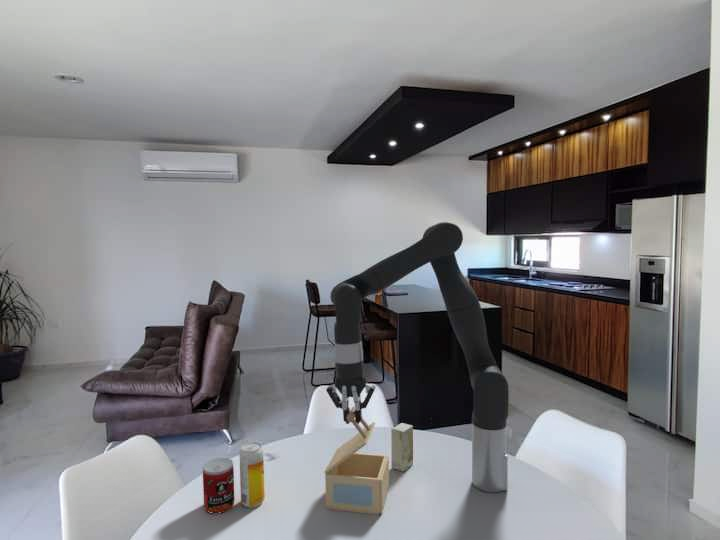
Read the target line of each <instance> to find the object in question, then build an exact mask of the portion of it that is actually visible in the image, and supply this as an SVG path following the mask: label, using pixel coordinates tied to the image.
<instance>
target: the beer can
mask: <svg viewBox="0 0 720 540" xmlns="http://www.w3.org/2000/svg"><path fill="white" fill-rule="evenodd" d="M264 461H265V460H264V448H263V446H262V444H261V443H259V442H247V443H245V444H242V446H241V447H240V450H239V478H240V479H239V480H240V484H239V485H240V503H241V504H242V505H243V507H244V508H248V507H249V509H252V508H253V509H254V508H256V507H259V506H261V504H262V503H263V501H264V500H265V469H264V468H265V466H264Z"/></svg>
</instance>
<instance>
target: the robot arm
mask: <svg viewBox="0 0 720 540" xmlns="http://www.w3.org/2000/svg"><path fill="white" fill-rule="evenodd" d="M463 240H464V235H463V232H462V229H461V228H460V227H459V226H458V225H457V224H456V223H453V222H449V221H442V222H438V223H436V224H433V225H431V226H429V227H428V228H426V229H425V231H424V232H423V234H422V238H421V239H420V240H418V241H416V242H415V243H413V244H412V245H410V246H409V247H406V248H405V249H402V250H401V251H398V252H395V253H394V254H392V255H390V256H388V257H386V258H384V259H382V260H380V261H378V262H377V263H375V264H373V265H372V266H369V267H368V268H366V269H365V270H364V271H362V272H361V273H359V274H356V275H353V276H351V277H349V278H347V279H345V280H342V281H341V282H339V283H338V284H336V285H335V286H334V287H333V288H332V290H331V292H330V295H329V296H330V301H331V303H332V305H333V306H335V322H334V326H333V327H334V328H333V333H334V335H333V336H334V356H333V357H334V364H335V365H334V368H335V381H334V383H332V384H331V385H328V386H327V388H326V393H327V394H328V396H329V397H330V400H331V401H332V403H333V404H334V406H335V408H337V409H338V408H339V409H342V415H343V416H342V417H343V422H345V424H347V425H349V424H350V423H351V422H348V421H347V419H346V417H347V415H348V414H349V412H350V410H351V407H349V403H350V400H349V399H350V398H352V399H353V400H352V401H353V403H354V406H355V409H356V410H355V421H356V422H357V423H358V424H359V425H360V423H361V422H360V421H361V419H362V418H363V416H362V415H363V413H362V410H363V409H366V408H367V406H368V404H369V402H370V400H371V398H372V396H373V394H374V392H375V390H376V386H375V385H374V384H373V385H372V384H371V385H370V384H369V383H368V382H367V380H366V378H365V366H364V349H363V345H362V344H363V343H362V331H361V329H362V328H361V318H362V317H361V316H362V300H363V299H365V298H366V297H368V296H372V295H377V294H379V293H381V292H382V291H384V290H386V289H387V288H389V287H390V286H393V285H394V284H395V283H397V282H398V281H400V280H402V279H403V278H405V277H407V276H409V275H410V274H411V273H413V272H414V271H417V270H418V269H419V268H421V267H423V266H425V265H427V264H429V263H430V266H431V268H432V270H433V272H434V275H435V276H436V280H437V282H438V283H437V284H438V287H439V290H440V293H441V295H442V299H443V302H444V306H445V309H446V312H447V315H448V318H449V321H450V325H451V327H452V330H453V332H454V334H455V336H456V338H457V339H456V340H458V342H459V344H460V346H461V349H462V351H463V354H464V357H465V362H466V365H467V368H468V375H469V380H470V384H471V388H472V390H473V410H472V412H471V413H472V415H471V439H472V440H471V445H472V446H471V461H472V462H471V464H472V465H471V467H472V468H471V477H472V478H471V482H472V485H473V486H474V487H476V488H477V489H478V490H481V491H482V492H483V491H484V492H486V493H500V492H503V491H506V492H508V485H509V484H508V482H509V481H508V474H509V473H508V471H509V470H508V469H509V468H508V467H509V466H508V465H509V464H508V459H509V458H508V453H507V420H508V417H509V399H510V397H509V395H510V391H509V383H508V379H507V378H506V376H505V375H504V374H503V372H502V371H501V369H500V368H499V366H498V365H497V362H496V360H495V358H494V355H493V353H492V351H491V348H490V346H489V345H490V344H489V341H488V334H487V326H486V321H485V317H484V316H485V315H484V313H483V312H484V311H483V309H482V307H481V304H480V301H479V298H478V296H477V293H476V292H475V290H474V288H473V286H472V285H471V284H470V283H469V281H468V280H467V278H466V277H465V276H464V274H463V272H462V271H461V269H460V267H459V263H458V260H457V258H456V254H455V253H456V252H457V251H458V250H459V249H460V247H461V246H462V244H463ZM364 389H365V393H366V396H365V398H364V400H363V401H362V400H361V399H362V396H361V394H362V392H363V390H364ZM337 391H338V392H339V393H340V394H341V398H340V396H339V394H338V393H337Z"/></svg>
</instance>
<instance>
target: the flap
mask: <svg viewBox="0 0 720 540" xmlns="http://www.w3.org/2000/svg"><path fill="white" fill-rule="evenodd" d="M355 410H356V409H355V405H354V406H352V407H351V408H350V412H349V414H348V415H347V417H346V419H347V421H348V422H350V423H352V425H353V426H354V428H356V429H355V430H357V432H358V433H357V434H356V435H354V436H352V437H351V439H349V440H348V441H346V442H345V443H343V444H342V445H340V446H339V447H338V448H337V449H336V450H335V452H334V454H333V456H332V458H331V459H330V461H329V463H328V464H327V467H326V468H325V470H324V474H325V475H326V473H328V472H329V471H331V470H332V469H333V468H335V467H336V466H337V465H339V464H340V463H342V462H343V461H344V460H346V459H347V458H348V457H350V456H351V455H352V454H354V453H358V451H360V450H361V449H362V448H363V447H365V446H367V444H368V441H369V439H370V437H371V436H372V435H371V434H372V432H373V429H374V428H375V425H376V422H371V424H368V423H367V422H366V420H365V419H364V418H363V417H362V419H361V421H360V422H359V424H358V423H357V422H356V421H355ZM360 423H361V424H362V425H363V427H364V428H362V427H361V425H360Z"/></svg>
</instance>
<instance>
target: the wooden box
mask: <svg viewBox="0 0 720 540" xmlns="http://www.w3.org/2000/svg"><path fill="white" fill-rule="evenodd" d="M389 459H390V458H389V456H388V455H387V454H386V455H385V454H373V453H372V454H371V453H370V454H369V453H361V452H360V453H359V452H355V453H354V454H352V455H351V456H350V457H348V458H347V459H346V460H344V461H343V462H342V463H340V464H339V465H337V466H336V467H335V468H333V469H332V470H331V471H329V472H328V473H326V474H325V477H324V479H325V509H326V510H332V511H333V510H334V511H342V512H351V513H359V514H360V513H361V514H367V515H368V514H369V515H378V516H381V514H383V511H384V506H385V503H386V500H387V495H388V491H389V488H390V465H389V464H390V461H389Z"/></svg>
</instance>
